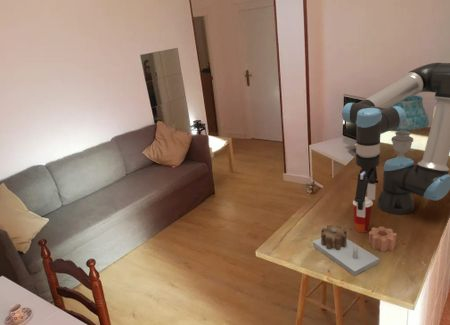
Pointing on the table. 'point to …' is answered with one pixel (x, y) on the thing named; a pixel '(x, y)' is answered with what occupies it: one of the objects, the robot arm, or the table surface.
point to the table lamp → (409, 123)
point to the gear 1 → (333, 237)
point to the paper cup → (361, 222)
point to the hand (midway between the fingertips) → (366, 207)
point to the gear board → (349, 256)
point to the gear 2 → (382, 238)
